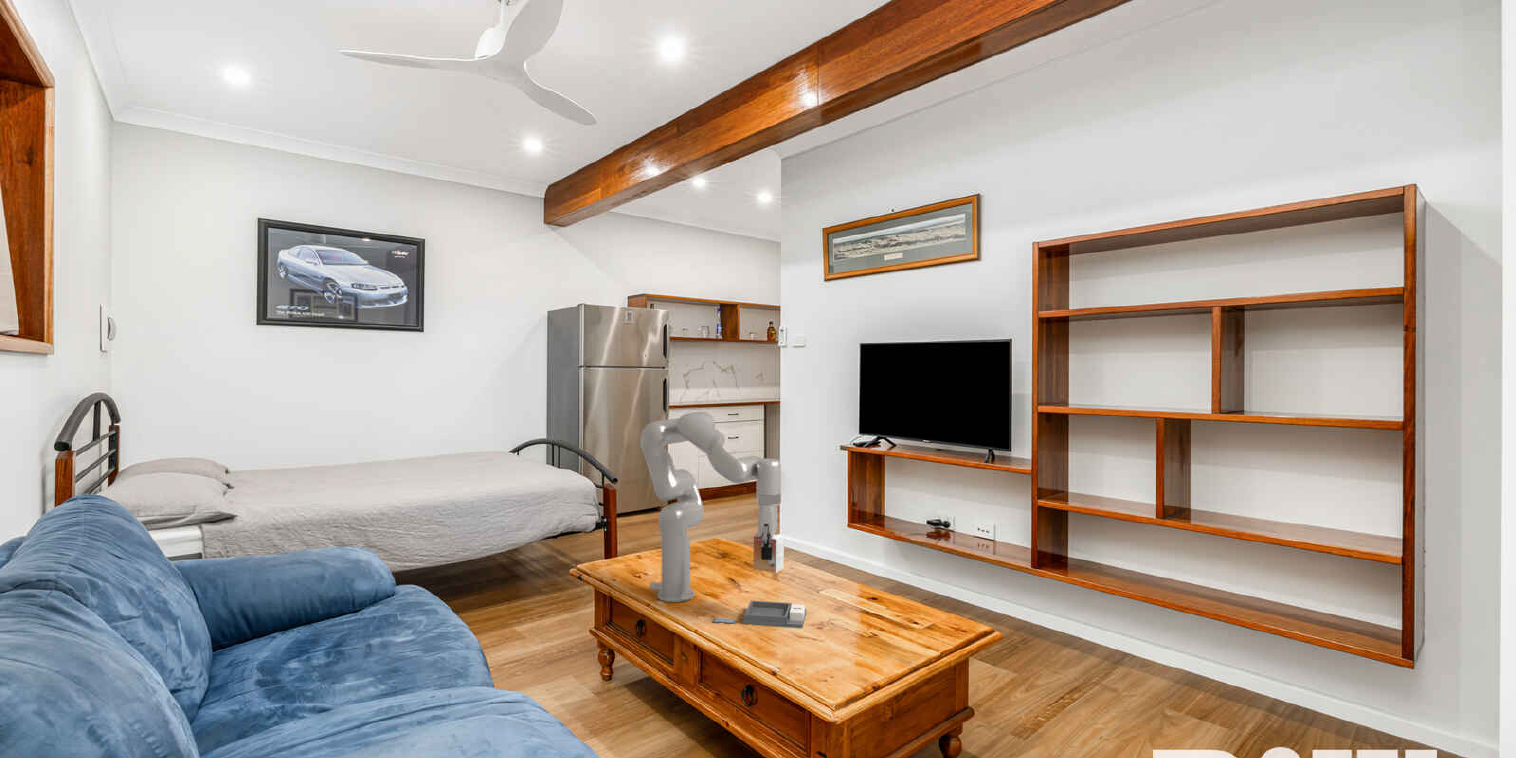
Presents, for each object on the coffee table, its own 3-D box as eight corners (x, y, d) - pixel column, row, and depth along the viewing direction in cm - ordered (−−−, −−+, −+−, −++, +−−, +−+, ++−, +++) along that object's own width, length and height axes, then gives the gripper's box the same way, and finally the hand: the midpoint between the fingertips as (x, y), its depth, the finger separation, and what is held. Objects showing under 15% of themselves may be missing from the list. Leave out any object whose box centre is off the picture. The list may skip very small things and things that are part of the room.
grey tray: (743, 624, 206) (743, 612, 205) (750, 608, 218) (750, 597, 218) (802, 628, 203) (802, 616, 202) (806, 612, 215) (806, 601, 215)
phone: (712, 624, 207) (712, 621, 207) (715, 620, 210) (715, 617, 210) (734, 626, 205) (734, 623, 205) (737, 622, 208) (737, 619, 208)
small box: (752, 569, 210) (753, 536, 209) (761, 564, 215) (761, 531, 214) (776, 573, 206) (776, 539, 206) (784, 568, 211) (784, 535, 211)
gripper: (761, 493, 219) (761, 547, 219) (751, 504, 202) (751, 563, 202) (784, 493, 218) (783, 548, 218) (776, 505, 201) (776, 565, 201)
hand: (768, 555), depth 210 cm, fingers closed on small box, 6 cm apart
